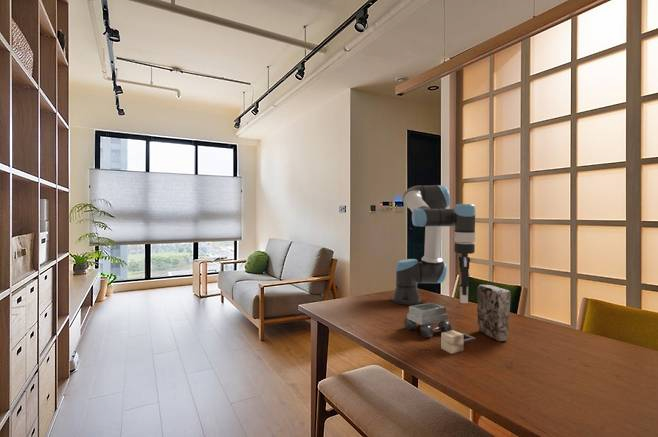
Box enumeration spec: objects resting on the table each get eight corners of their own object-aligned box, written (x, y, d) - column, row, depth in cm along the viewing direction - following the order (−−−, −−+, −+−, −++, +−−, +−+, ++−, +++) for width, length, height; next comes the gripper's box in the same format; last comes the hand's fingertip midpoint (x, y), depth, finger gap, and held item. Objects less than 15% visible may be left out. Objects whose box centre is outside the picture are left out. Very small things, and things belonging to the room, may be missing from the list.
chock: (452, 345, 129) (453, 330, 129) (463, 350, 124) (463, 334, 124) (441, 348, 126) (441, 332, 126) (451, 353, 122) (451, 337, 121)
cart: (427, 323, 154) (427, 300, 153) (452, 334, 140) (453, 309, 140) (402, 328, 147) (402, 304, 147) (427, 340, 134) (427, 314, 134)
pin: (463, 303, 138) (463, 271, 137) (471, 305, 134) (471, 273, 134) (456, 304, 136) (456, 272, 136) (464, 307, 133) (464, 274, 132)
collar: (462, 334, 140) (462, 332, 140) (475, 339, 134) (475, 337, 134) (451, 337, 137) (451, 335, 137) (464, 342, 131) (464, 340, 131)
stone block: (512, 340, 134) (512, 290, 133) (498, 342, 131) (499, 291, 131) (486, 329, 146) (486, 283, 145) (473, 331, 144) (473, 284, 143)
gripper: (453, 240, 143) (453, 295, 144) (455, 244, 128) (454, 306, 129) (472, 241, 141) (472, 297, 142) (476, 245, 125) (475, 308, 126)
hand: (463, 301), depth 135 cm, fingers closed on pin, 3 cm apart
